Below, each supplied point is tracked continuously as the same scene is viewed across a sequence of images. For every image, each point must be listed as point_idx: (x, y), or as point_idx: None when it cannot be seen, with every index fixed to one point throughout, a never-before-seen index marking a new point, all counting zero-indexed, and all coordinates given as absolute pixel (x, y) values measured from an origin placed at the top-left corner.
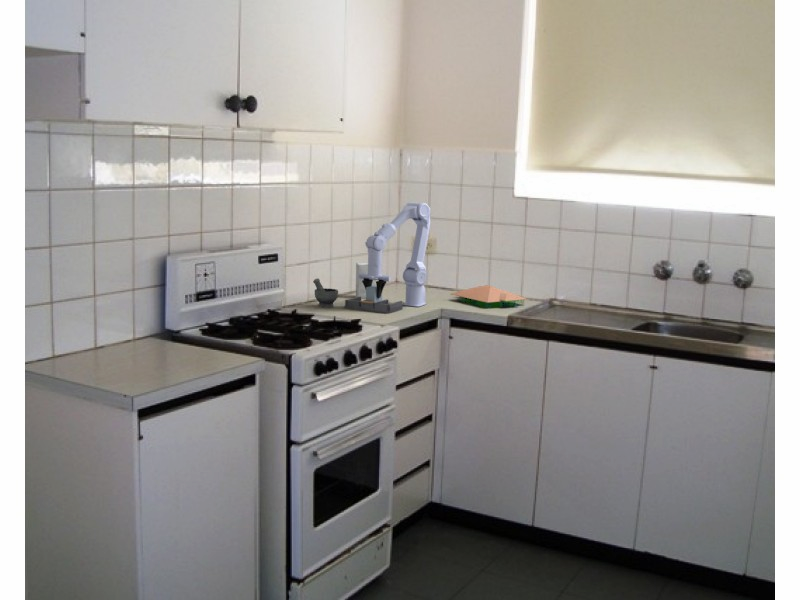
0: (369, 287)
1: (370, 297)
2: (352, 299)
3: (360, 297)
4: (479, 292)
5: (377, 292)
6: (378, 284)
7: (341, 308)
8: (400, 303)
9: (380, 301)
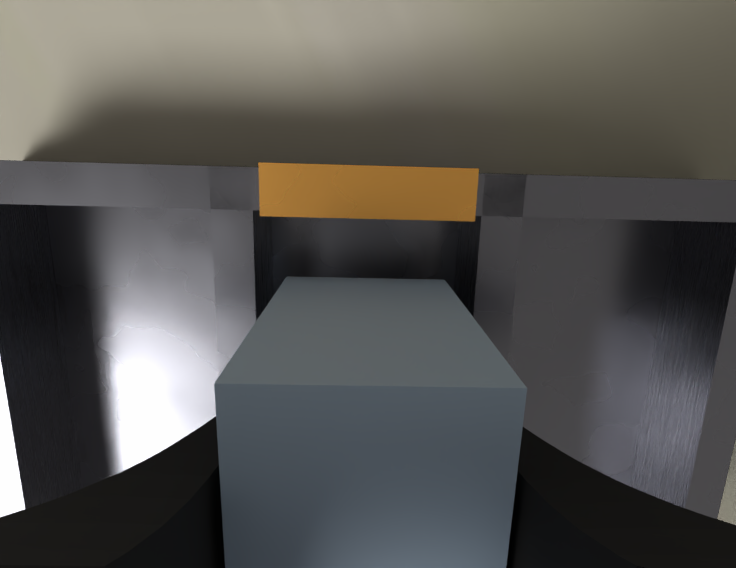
0: (421, 411)
1: (358, 297)
2: (710, 347)
3: None
4: None
5: None
6: (41, 529)
7: (731, 143)
8: None
9: None
